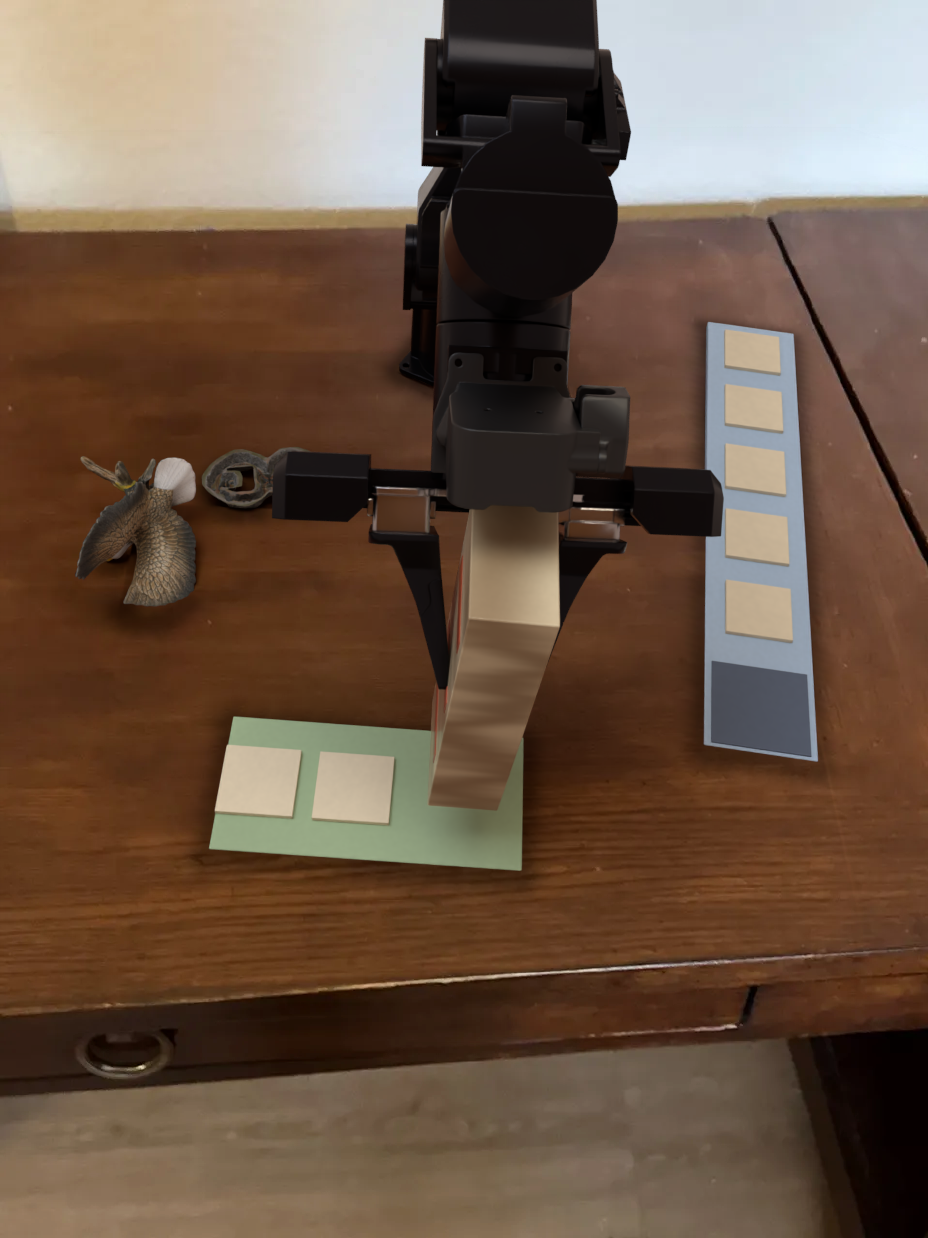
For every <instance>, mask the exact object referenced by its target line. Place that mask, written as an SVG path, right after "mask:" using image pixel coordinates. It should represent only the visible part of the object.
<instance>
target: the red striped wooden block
mask: <svg viewBox="0 0 928 1238" xmlns="http://www.w3.org/2000/svg"><path fill="white" fill-rule="evenodd" d="M559 628H560V594H559V534H558V512H556V513H544V512H538V511H537V510H536V509H535V508H533V507H520V506H496V505H492V506H489V507H488V508H487V509H485V510H473V509H470V510H469V513H468V516H467V522H466V527H465V530H464V537H463V542H462V547H461V551H460V557H459V562H458V567H457V572H456V577H455V582H454V589H453V593H452V598H451V603H450V608H449V614H448V618H447V622H446V630H447V641H448V652H449V668H448V686H447V687H446V690H439V689H438V685H437V682H436V681H435V684H434V685H435V686H434V689H433V690H434V691H433V695H432V700H431V701H432V703H431V721H430V731H431V739H430V759H429V779H428V799H427V804H428V805H429V806H442V807H455V808H468V809H481V810H494V811H496V810H498V807H499V804H500V801H501V798H502V795H503V792H504V790H505V787H506V784H507V781H508V778H509V775H510V772H511V769H512V766H513V763H514V760H515V757H516V754H517V751H518V748H519V745H520V743H521V740H522V738H524V733H525V731H526V728H527V725H528V722H529V719H530V715H531V714H532V711H533V707H534V705H535V701H536V699H537V695H538V692H539V689H540V687H541V683H542V680H543V678H544V675H545V673H546V669H547V667H548V664H549V662H548V660H549V661H550V659H549V657H550V658H551V656H550V654H551V651H552V648H553V645H554V643H555V640H556V637H557V634H558V631H559ZM552 652H553V651H552ZM551 655H552V654H551ZM547 663H548V664H547ZM546 666H547V667H546Z"/></svg>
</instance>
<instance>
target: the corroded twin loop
mask: <svg viewBox="0 0 928 1238" xmlns="http://www.w3.org/2000/svg"><path fill="white" fill-rule="evenodd" d="M288 451H308V452H312V451H310V450H309V449H306V448H302V447H299V446H290V447H280V448H278V449H277V450H276V451H275V452H273V453H272V454H271V455H270V456H265V455H263V454H260V453H257V452H254V451H251V450H248V449H244V448H239V449H232V450H230V451H228V452H226V453H225V454H222V455H220V456H219V457H217V458H216V459H215V460H214V461H212V462H211V463H210V464H209V465H208V466H207V467H206V469H205V471H204V472H203V473H202V475H201V485H202V486H203V487H204V489H205V490H206V491H207V492H208V493H209V494H210V495H211V496H213V497H215V499H217V500H219V501H221V502H223V503H225V504H226V505H227V506H228V507H229V508H231V509H232V508H234V509H256V508H258V507H259V506H260V505H262V504H263V503H264V501H265V500H266V499H267V498H269V497H272V492H273V473H274V464H275V463H277V462H278V461H279V460H280V459H281V458H282V457H283V456H284V455H285V454H286V453H287V452H288ZM250 470H253V480H254V488H253V489H252V490H242V491H236V489H237V488H239V487H243V475H242V473H241V472H247V471H250Z"/></svg>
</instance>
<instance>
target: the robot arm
mask: <svg viewBox="0 0 928 1238" xmlns="http://www.w3.org/2000/svg"><path fill="white" fill-rule="evenodd" d="M598 17H599V15H598V0H442V11H441V25H440V38H435V37H424V44H423V61H422V62H423V63H422V86H421V113H420V115H421V120H420V124H421V125H420V144H421V145H420V162H421V163H420V166H421V167H426V168H427V167H428V168H430V167H431V170H430V171H429V173H428V175H427V176H426V177H425V179H424V180H423V182H422V183H421V184H420V186H419V188H418V191H417V202H416V203H417V204H416V207H417V208H416V223H405V230H404V249H403V250H404V251H403V252H404V253H403V255H404V256H403V276H402V277H403V279H402V280H403V281H402V282H403V283H402V311H412V312H411V331H410V333H411V334H410V335H411V336H410V351H409V352H408V353H407V354H406V355H405V357H403V358H402V360H401V361H400V362H399V364H398V372H399V373H400V374H402V375H404V376H406V377H409V378H411V379H414V380H416V381H419V382H420V383H423V384H426V385H428V386H431V387H433V396H432V397H433V398H432V399H433V401H432V421H431V422H432V423H431V424H432V426H431V450H430V470H426V469H425V470H422V469H404V468H403V469H402V468H378V467H377V468H376V467H372V454H371V453H353V452H351V453H350V452H330V451H329V452H327V451H311V452H308V451H309V450H308V451H288V452H287V453H286V454H285V455H284V456H283V457H282V458H281V459H280V460H279V461H278V462H277V463H275V464H274V473H273V492H272V496H271V498H272V499H271V501H272V502H271V518H272V519H275V520H285V521H308V522H309V521H310V522H331V523H332V522H333V523H334V522H337V523H348V522H350V521H351V520H352V519H353V518H354V517H355V516H356V515H358V514H359V512H360V511H361V510H362V509H366V516H367V517H371V519H372V520H371V522H372V523H371V524H370V525H369V529H368V534H367V535H368V536H367V541H368V542H367V543H369V544H372V545H379V546H390V547H391V548H392V549H393V552H394V554H395V557H396V558H397V561H398V563H399V566H400V568H401V570H402V572H403V574H404V577H405V579H406V582H407V585H408V587H409V589H410V592H411V594H412V597H413V599H414V602H415V606H416V608H417V609H416V610H417V612H418V617H419V620H420V624H421V627H422V632H423V635H424V639H425V643H426V647H427V650H428V654H429V658H430V661H431V665H432V669H433V673H434V677H435V683H436V682H437V685H438V689H439V690H446V687H447V686H448V668H449V652H448V641H447V630H446V628H447V620H446V609H445V608H446V607H445V597H444V596H445V595H444V586H443V575H442V563H441V547H440V546H441V545H440V535H439V533H438V531H437V528H436V527H435V525H431V520H435V519H436V513H437V512H442V513H443V512H444V513H468V514H469V510H470V509H473V510H485V509H487V508H488V507H489V506H492V505H496V506H520V507H533V508H535V509H536V510H537V511H538V512H544V513H556V512H558V534H559V594H560V628H559V631H558V634H557V637H556V640H555V643H554V645H553V648H552V651H551V654H550V657H549V660H548V663H547V666H546V668H547V667H548V664H549V662H550V659H551V656H552V654H553V652H554V650H555V646H556V644H557V641H558V638H559V636H560V633H561V632H562V629H563V626H564V623H565V621H566V618H567V616H568V615H569V611H570V609H571V607H572V605H573V603H574V601H575V599H576V598H577V596H578V594H579V592H580V590H581V588H582V587H583V585H584V583H585V581H586V579H587V578H588V577H589V575H590V573H592V571H593V569H594V568H595V567H596V565H597V564H598V563H599V561H601V559H602V558H603V557H604V556H606V555H622V554H625V553H626V549H627V546H628V541H626V540H623V539H621V538H620V537H621V527H623V528H624V527H630V526H631V527H641V528H642V529H643V530H644V531H645V532H646V533H647V534H648V535H652V536H653V535H656V536H679V537H680V536H681V537H682V536H683V537H704V538H706V537H719V536H721V530H722V516H723V502H724V497H723V491H722V486H721V483H720V482H719V480H718V479H717V478H716V477H715V475H714V474H713V473H712V471H711V470H705V468H704V469H703V468H692V467H691V468H689V467H669V466H646V465H627V457H628V449H629V439H630V420H631V419H630V417H631V396H630V393H629V392H628V390H627V388H626V387H624V386H618V385H617V386H615V385H614V386H613V385H595V384H580V385H579V386H578V387H577V388H576V392H575V397H571V394H570V391H569V386H568V385H569V384H568V383H569V366H570V365H569V364H570V348H571V347H570V346H571V328H572V313H573V312H572V309H573V295H574V292H575V291H576V290H578V289H579V288H580V287H581V286H583V284H585V283H586V282H587V281H588V280H589V279H591V278H592V277H593V276H594V275H595V273H596V272H598V270H599V269H600V268H601V266H602V265H603V263H604V262H605V261H606V259H607V257H608V255H609V253H610V250H611V248H612V246H613V244H614V241H615V237H616V232H617V228H618V223H619V222H618V221H619V203H618V200H617V199H616V194H615V191H614V187H613V184H612V180H611V177H612V176H613V175H614V173H615V172H616V171H617V170H618V168H619V166H620V162H621V161H627V157H628V152H629V146H630V141H631V136H632V129H631V124H630V120H629V115H628V110H627V105H626V101H625V94H624V89H623V85H622V82H621V80H620V78H619V77H618V76H617V74H616V73H615V71H614V66H613V65H614V64H613V57H612V52H611V50H610V49H607V48H600V40H599V37H600V36H599V18H598Z"/></svg>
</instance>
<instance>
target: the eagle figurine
mask: <svg viewBox="0 0 928 1238" xmlns="http://www.w3.org/2000/svg"><path fill="white" fill-rule="evenodd" d="M79 460H80V461H81V463H82V464H83V465H84V466H85V468H86V469H87V470H88V471H90V472H92V473H93V474H94V475H96V476H98V477H100V478H101V479H103V480H104V481H108V482H110V483H111V484H112V485H113V486H114V488H117V489H118V490H119V491H120V492H122V493H123V492H124V494H125V495H124V496H123V498H121V499H120V500H119V501H115V502H114V503H113V504H112V505H111V504H110V505H107V506H105V507H104V509H103V510H101V511H100V513H99V516H98V517H97V518H96V520H95V523H93V524H92V526H91V528H90V530H89V532H88V533H87V535H86V537H85V538H84V539H83V541H82V546H81V548H80V551H79V555H78V556H79V558H78V560H77V561H76V562H77V563H76V566H77V568H76V571H75V574H74V575H75V578H77V579H78V580H83V581H84V580H85V579H86V578H87V577H88V576H89V575H90V574H91V573H92V572H93V571H95V569H97V568H98V567H99V566H100V565H101V564H103V563H106V562H110V561H112V560H113V559H114V560H117V559H120V558H121V557H122V556H123V555H124V554H125V552H126V551H127V550H128V549H129V547H130V546H132V545H133V544H134V545H135V548H136V560H135V566H134V572H133V577H132V580H131V583H130V585H129V587H128V589H127V592H126V595H125V597H124V599H123V604H124V605H130V604H131V605H135V606H144V607H160V606H166V605H168V604H174V603H176V602H178V601H179V600H180V601H181V600H183V599H184V598H187V597H189V596H190V594H191V593H193V592H194V591H195V584H196V582H197V577H196V575H195V574H196V569H197V565H196V562H195V561H196V554H197V553H196V549H195V548H197V539H196V535H195V533H194V532H193V527H192V526H190V524H189V522H188V521H186V520H184V518H183V517H182V516H181V515H178V511H177V510H175V509H174V508H173V507H176V506H179V505H182V504H185V503H188V502H191V501H192V500H194V498H195V496H196V492H197V486H196V485H197V483H196V472H195V471H194V470H193V466H192V464H191V463H190V462H188V461H186V459H183V458H179V457H167V458H166V457H165V458H164V459H161V460H160V461H159V462H158V463H157V460H156V459H154V458H151V459H150V462H149V464H148V465H147V467H146V469H145V470H144V472H143V473H142V475H140V476H139V477H138V480H135V479H132V477H131V474H130V472H129V471H128V469H127V467H126V465H125V463H124V461H122V460H118V461H116V464H115V466H114V471H112V470H109V469H107V468H105V467H102V466H101V465H98V464H97V463H95V461H94V460H92V459H90V458H88V457H87V456H84V455H82V456H80V459H79ZM156 464H157V465H156ZM155 468H156V469H155ZM154 471H155V473H153V472H154ZM153 474H154V479H153V482H151V484H150V481H151V479H152V477H153Z"/></svg>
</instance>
